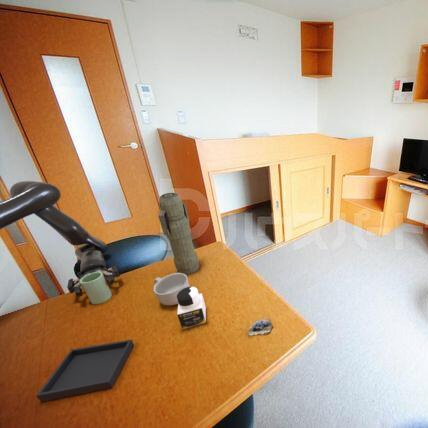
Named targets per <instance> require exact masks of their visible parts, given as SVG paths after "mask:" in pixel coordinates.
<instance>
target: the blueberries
mask: <svg viewBox="0 0 428 428" xmlns="http://www.w3.org/2000/svg"><path fill="white" fill-rule="evenodd" d="M273 326H274V325H273V324H272V322H271V318H262V319H259V320H256V321H254V322H253V323H252V324H251V326H250V327H249V328H248V330H247V334H248V335H249V336H257V335H263V334H264V335H267V334H269V333H271V331H272V329H273V328H272V327H273Z"/></svg>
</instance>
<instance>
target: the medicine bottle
mask: <svg viewBox="0 0 428 428" xmlns="http://www.w3.org/2000/svg"><path fill="white" fill-rule="evenodd" d="M177 300H178V304H177V311H176V312H177V313H176V315H177V318H178V322H179V325H180V327H181V330H185V329H189V328H192V327H196V326H198V325H202V324H205V323H206V322H207V321H206V320H207V310H206V309H207V306H206V304H205V300H204V296H203V293H199V290H198V288H197V287H195V286H190V287H186V288H184V289H182V290H180V291H179V293H178V294H177Z"/></svg>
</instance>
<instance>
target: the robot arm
mask: <svg viewBox="0 0 428 428" xmlns="http://www.w3.org/2000/svg"><path fill="white" fill-rule="evenodd" d="M9 195H10V197H9V198H6V199H4V200H1V201H0V231H2V230H3V229H5V228H7V227H8V226H11V225H12V224H14V223H16V222H18V221H20V220H23V219H25V218H26V217H29V216H32V215H35V216H36V217H38V218H39V219H41V220H42V222H45V223H46V224H47V225H48V226H50V227H51V228H52V229H53V230H55V231H56V233H58V234H59V235H60V236H61V237H62V238H63V239H64V240H65V241H66V242H67V243H69V244H70V245H71V246H75V247H77V246H78V247H77V248H76V249H75V250H74V255H75V256H76V258H77V259H78V260H80V265H79V266H80V267H79V268H80V270H79V271H80V276H79V277H78V278H76V279H74V278H70V279H68V282H67V286H66V289H67V291H68V292H69V293H70V294H73V293H74V294H75V295H76V297H82V296H83V290H84V288H83V287H82V285H81V283H80V279H81V278H82V277H84V276H85V275H87V274H90V273H93V272H102V274H103V276H104V278H105V280H106V281H108V283H109V285H110V286H112V285H114V284H115V282H116V280H115V278H119V277H121V273H120V272H119V270H118V267H117V265H116V264H113V265H111V267H109V268H107V263H106V261H105V256H104V254H105V253H107V251H108V244H107V243H106V242H105V241H104V240H102V239H100V238H98V237H96V236H94V235H92V234H91V233H90V232H88V230H87V229H85V227H84V226H83V225H82V224H80V222H79V221H77V220H75V218H72V217H71V216H69V215H68V214H66V213H65V212H64V211H62V210H60V209H59V208H58V207H57V206H56V204H57V203H59V201H60V199H61V196H62V193H61V190H60V188H59V187H57V186H56V185H54V184H52V183H48V182H42V181H33V180H27V181H26V180H23V181H18V182H16V183H14V184H13V185H11V187H10V189H9Z"/></svg>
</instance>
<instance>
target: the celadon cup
mask: <svg viewBox="0 0 428 428" xmlns="http://www.w3.org/2000/svg"><path fill="white" fill-rule="evenodd" d="M80 283H81V285H82V287H83V290H84V292H85V295H86V296H87V298H88V300H89V302H90V303H91V304H92V305H99V304H102V303H103V304H104V302H107V301H108V300H110V299H111V298H112V296H113V293H112V291H111V288H110V286H109V284H108V282H107V280H105V278H104V276H103V274H102V272H93V273H90V274H87V275H85V276H84V277H82V278H81V279H80Z"/></svg>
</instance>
